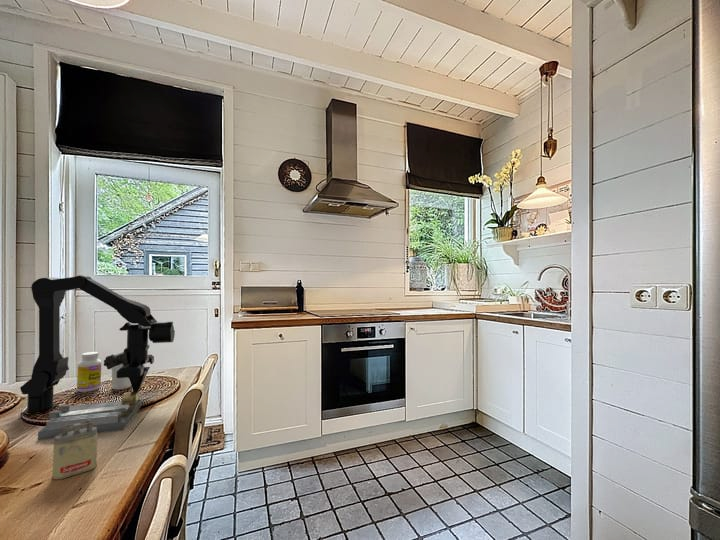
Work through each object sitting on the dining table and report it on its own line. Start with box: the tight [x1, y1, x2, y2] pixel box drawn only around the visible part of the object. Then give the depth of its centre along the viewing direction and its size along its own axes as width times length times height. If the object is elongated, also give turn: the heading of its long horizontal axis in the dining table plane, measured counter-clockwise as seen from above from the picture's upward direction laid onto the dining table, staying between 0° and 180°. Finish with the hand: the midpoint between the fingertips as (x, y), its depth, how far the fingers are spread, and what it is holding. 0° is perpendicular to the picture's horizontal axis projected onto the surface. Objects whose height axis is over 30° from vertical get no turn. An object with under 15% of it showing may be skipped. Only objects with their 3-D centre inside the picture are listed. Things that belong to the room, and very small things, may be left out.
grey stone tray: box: [37, 398, 143, 441], centre depth 95 cm, size 18×18×5 cm
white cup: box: [111, 364, 132, 390], centre depth 125 cm, size 7×7×10 cm
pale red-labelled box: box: [51, 419, 98, 480], centre depth 71 cm, size 7×4×10 cm, turn 134°
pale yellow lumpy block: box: [121, 390, 140, 405], centre depth 103 cm, size 6×4×3 cm, turn 20°
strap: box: [61, 404, 129, 418], centre depth 93 cm, size 16×3×1 cm, turn 110°
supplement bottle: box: [76, 351, 102, 393], centre depth 121 cm, size 7×7×13 cm
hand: (136, 392), depth 110 cm, fingers closed
